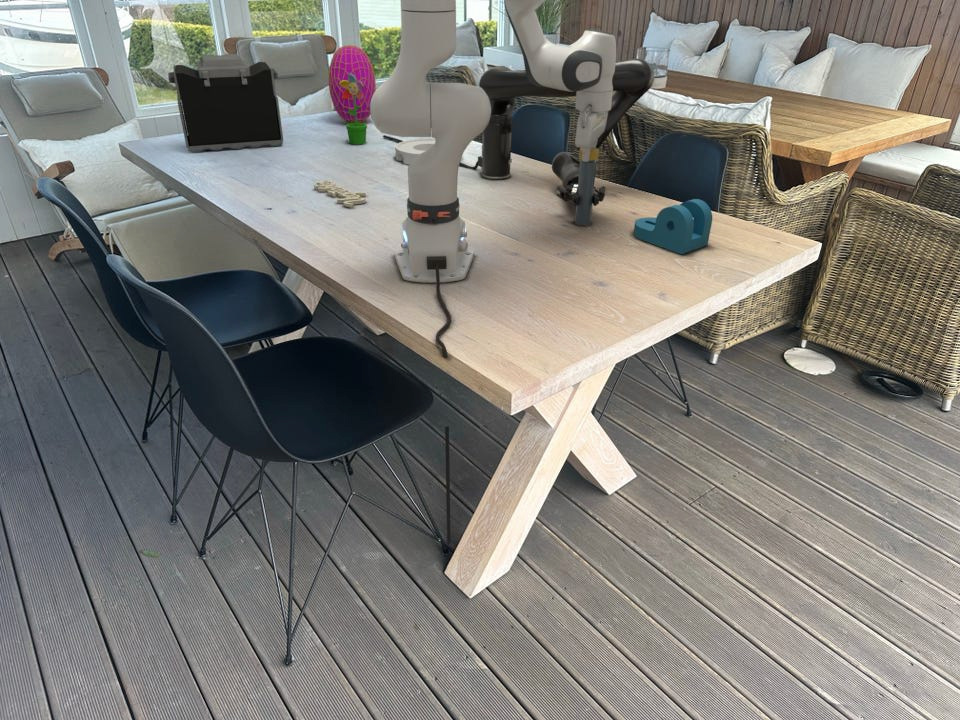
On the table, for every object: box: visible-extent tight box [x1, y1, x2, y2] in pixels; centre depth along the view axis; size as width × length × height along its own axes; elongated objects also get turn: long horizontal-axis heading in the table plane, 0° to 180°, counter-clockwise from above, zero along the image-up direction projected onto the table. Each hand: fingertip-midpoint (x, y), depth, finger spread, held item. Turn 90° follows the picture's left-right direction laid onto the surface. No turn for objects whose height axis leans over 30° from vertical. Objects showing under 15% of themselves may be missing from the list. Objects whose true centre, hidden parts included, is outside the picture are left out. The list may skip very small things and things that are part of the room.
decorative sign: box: [313, 179, 366, 209], centre depth 205 cm, size 26×1×10 cm
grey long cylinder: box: [574, 159, 597, 227], centre depth 181 cm, size 4×4×19 cm
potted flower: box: [339, 73, 368, 145], centre depth 255 cm, size 9×8×25 cm
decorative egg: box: [328, 44, 377, 124], centre depth 286 cm, size 19×19×30 cm
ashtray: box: [394, 138, 436, 166], centre depth 243 cm, size 23×23×4 cm
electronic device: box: [167, 53, 284, 153], centre depth 252 cm, size 37×22×30 cm, turn 111°
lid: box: [578, 147, 600, 161], centre depth 177 cm, size 5×5×2 cm
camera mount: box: [632, 198, 713, 255], centre depth 173 cm, size 18×10×10 cm, turn 39°
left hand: (588, 158), depth 177 cm, fingers closed on lid, 5 cm apart
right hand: (586, 202), depth 180 cm, fingers closed on grey long cylinder, 4 cm apart
